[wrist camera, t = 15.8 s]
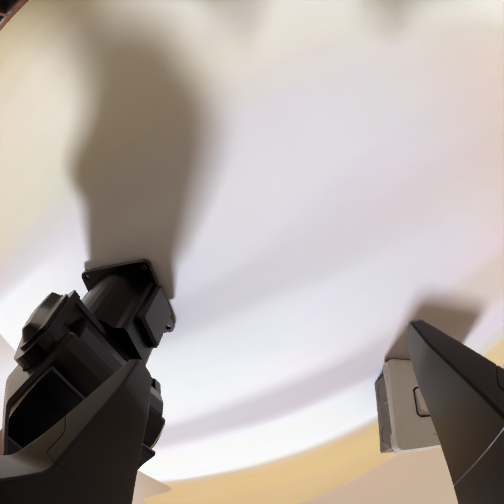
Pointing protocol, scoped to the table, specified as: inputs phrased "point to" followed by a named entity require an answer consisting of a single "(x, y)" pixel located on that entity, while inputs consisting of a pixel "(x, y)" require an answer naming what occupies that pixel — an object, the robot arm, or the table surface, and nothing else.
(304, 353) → the table surface
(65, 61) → the table surface
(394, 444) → the electrical switch
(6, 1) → the letter holder
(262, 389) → the table surface
